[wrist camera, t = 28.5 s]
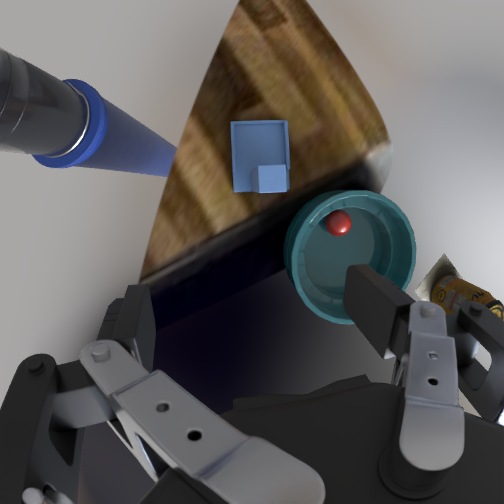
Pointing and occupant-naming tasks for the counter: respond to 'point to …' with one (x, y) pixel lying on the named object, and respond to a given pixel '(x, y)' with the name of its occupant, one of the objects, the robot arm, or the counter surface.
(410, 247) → the teal ribbed bowl
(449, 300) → the condiment
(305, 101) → the counter surface
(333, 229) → the bead
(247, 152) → the blue base with post
